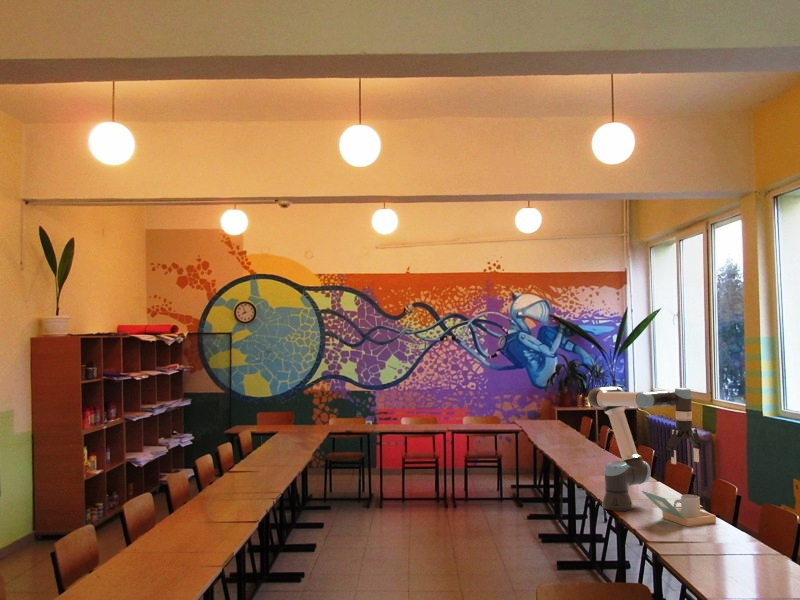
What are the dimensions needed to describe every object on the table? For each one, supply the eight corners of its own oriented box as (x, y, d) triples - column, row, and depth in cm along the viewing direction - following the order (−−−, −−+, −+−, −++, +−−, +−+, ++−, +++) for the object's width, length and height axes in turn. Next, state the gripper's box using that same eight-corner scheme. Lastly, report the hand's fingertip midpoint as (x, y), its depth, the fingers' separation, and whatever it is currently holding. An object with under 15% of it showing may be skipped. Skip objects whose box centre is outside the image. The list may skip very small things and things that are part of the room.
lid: (685, 518, 323) (684, 519, 323) (662, 510, 337) (662, 511, 337) (664, 497, 319) (663, 499, 319) (642, 490, 334) (641, 491, 334)
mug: (698, 517, 336) (697, 494, 336) (702, 522, 327) (701, 498, 328) (672, 516, 338) (671, 494, 339) (675, 521, 330) (675, 498, 330)
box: (687, 526, 322) (687, 519, 322) (662, 517, 338) (662, 510, 338) (715, 522, 328) (715, 515, 328) (690, 514, 344) (689, 507, 344)
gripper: (668, 422, 330) (669, 466, 329) (709, 419, 338) (711, 462, 337) (657, 420, 337) (659, 463, 336) (698, 417, 345) (700, 459, 344)
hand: (685, 462), depth 337 cm, fingers open, 13 cm apart
